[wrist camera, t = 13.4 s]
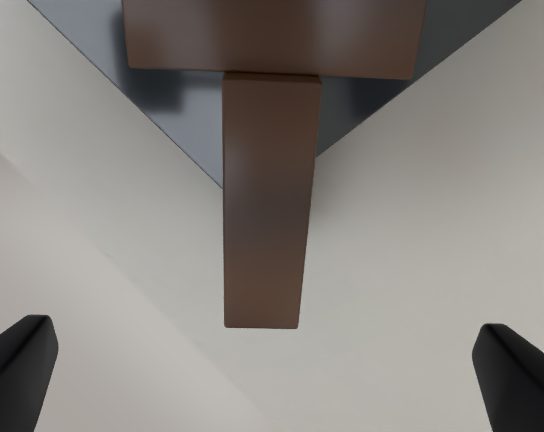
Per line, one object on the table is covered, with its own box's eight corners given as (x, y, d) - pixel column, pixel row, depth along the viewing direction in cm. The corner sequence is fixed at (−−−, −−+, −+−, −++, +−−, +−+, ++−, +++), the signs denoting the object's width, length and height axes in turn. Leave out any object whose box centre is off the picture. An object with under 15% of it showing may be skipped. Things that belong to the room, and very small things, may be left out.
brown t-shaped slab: (349, 261, 18) (367, 331, 15) (172, 257, 18) (152, 327, 15) (417, -154, 12) (478, -189, 8) (136, -171, 11) (86, -215, 8)
